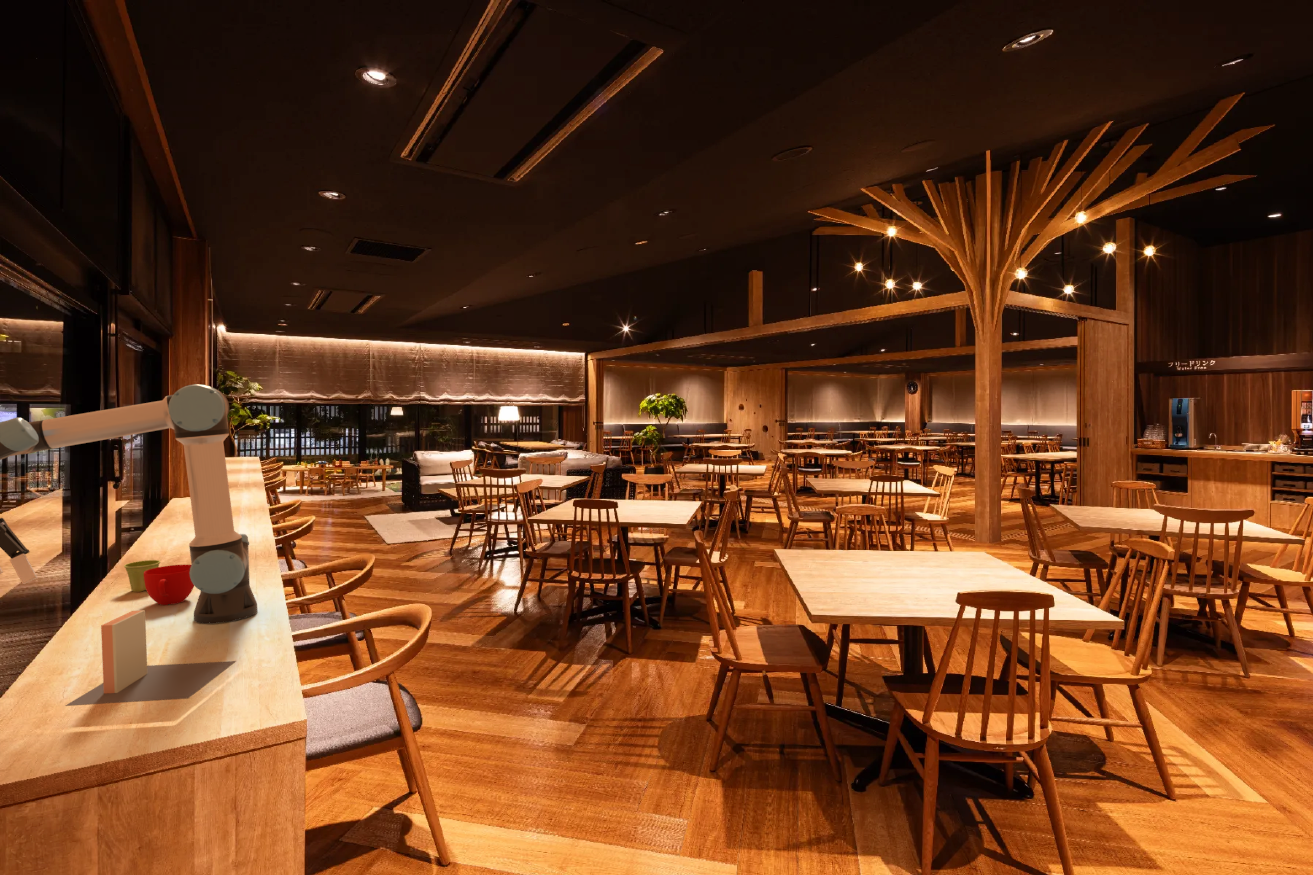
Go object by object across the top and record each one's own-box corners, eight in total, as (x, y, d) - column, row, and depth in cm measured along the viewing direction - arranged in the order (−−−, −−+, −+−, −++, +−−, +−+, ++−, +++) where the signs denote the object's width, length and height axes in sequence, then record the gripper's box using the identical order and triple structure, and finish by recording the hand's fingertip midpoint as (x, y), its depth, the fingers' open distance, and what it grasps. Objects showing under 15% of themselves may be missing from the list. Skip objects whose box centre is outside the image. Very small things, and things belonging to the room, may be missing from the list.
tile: (103, 693, 136) (101, 625, 135) (134, 674, 146) (132, 610, 145) (117, 692, 136) (114, 624, 135) (147, 673, 146) (145, 610, 145)
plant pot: (146, 593, 212) (145, 566, 212) (117, 593, 213) (116, 566, 212) (168, 585, 222) (167, 559, 221) (140, 585, 222) (139, 559, 222)
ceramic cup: (134, 614, 191) (133, 579, 190) (151, 598, 206) (150, 566, 206) (188, 608, 196) (187, 574, 196) (201, 594, 212) (200, 562, 211)
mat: (65, 708, 130) (65, 705, 130) (130, 669, 150) (130, 666, 150) (188, 701, 133) (188, 698, 133) (236, 663, 153) (236, 660, 153)
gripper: (-17, 515, 161) (25, 591, 159) (-91, 495, 138) (-44, 583, 136) (20, 499, 164) (61, 573, 162) (-48, 477, 141) (-1, 563, 139)
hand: (13, 578), depth 149 cm, fingers open, 13 cm apart
